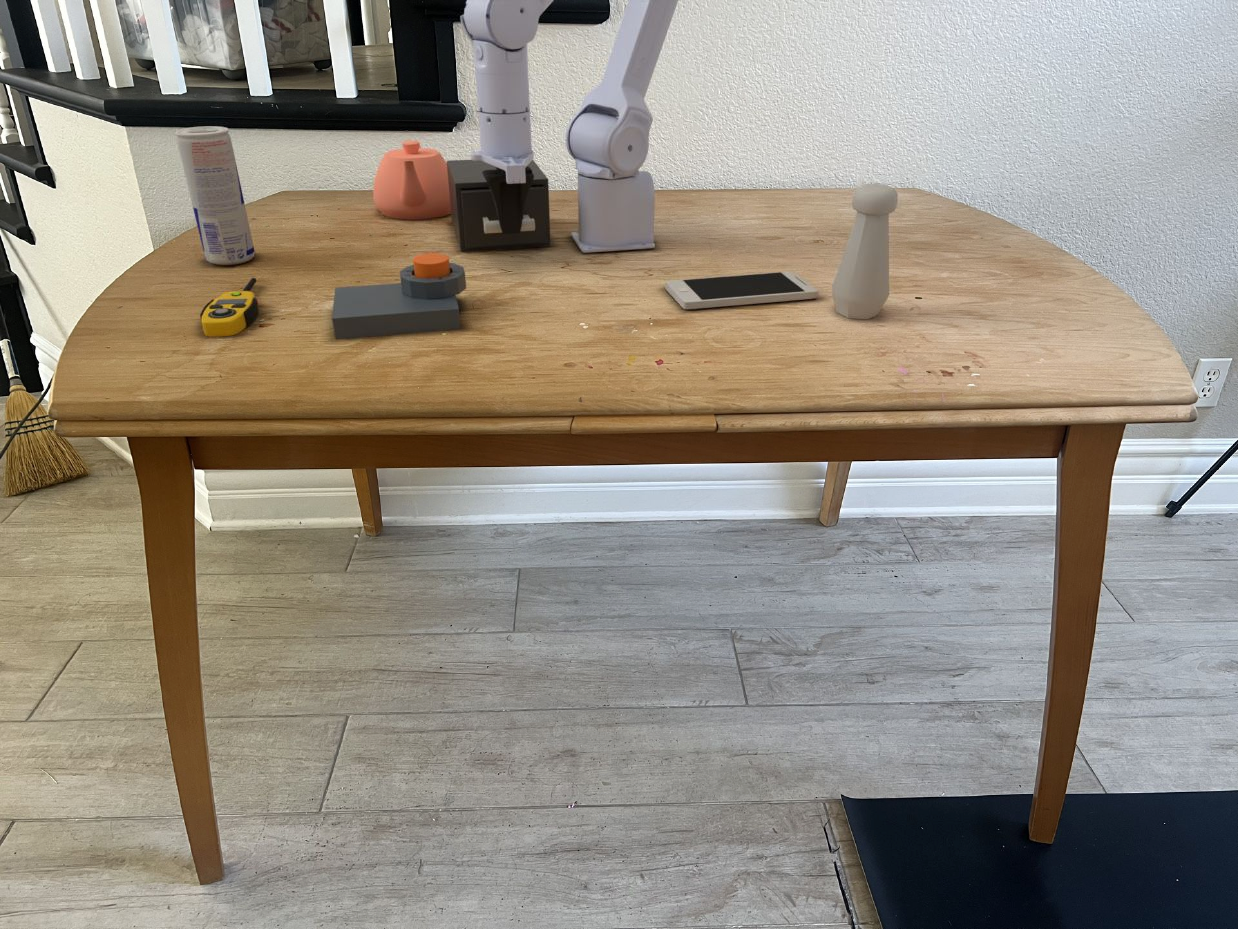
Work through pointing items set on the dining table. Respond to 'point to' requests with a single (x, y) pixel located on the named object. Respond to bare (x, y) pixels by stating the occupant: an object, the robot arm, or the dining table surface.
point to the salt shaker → (866, 254)
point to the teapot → (412, 183)
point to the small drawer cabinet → (471, 176)
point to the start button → (431, 265)
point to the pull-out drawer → (485, 223)
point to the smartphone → (740, 290)
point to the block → (399, 305)
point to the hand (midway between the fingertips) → (511, 232)
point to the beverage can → (216, 194)
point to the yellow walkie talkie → (230, 312)
